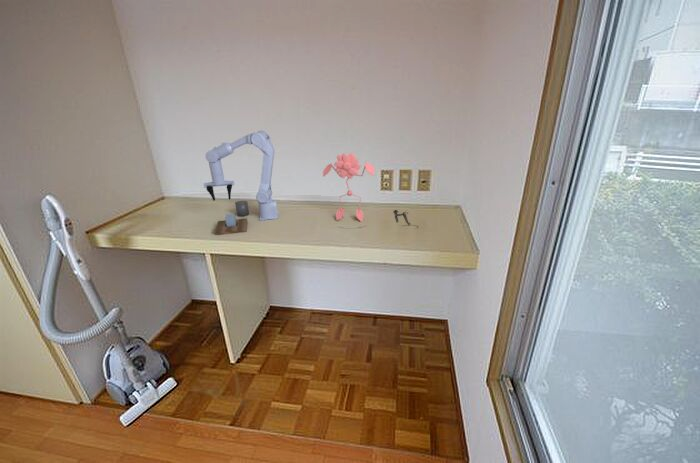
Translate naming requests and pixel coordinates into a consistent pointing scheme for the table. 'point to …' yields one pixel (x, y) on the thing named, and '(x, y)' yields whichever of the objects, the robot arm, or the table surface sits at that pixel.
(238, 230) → the socket block
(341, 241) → the table surface
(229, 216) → the square peg
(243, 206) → the round peg
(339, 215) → the figurine
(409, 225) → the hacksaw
